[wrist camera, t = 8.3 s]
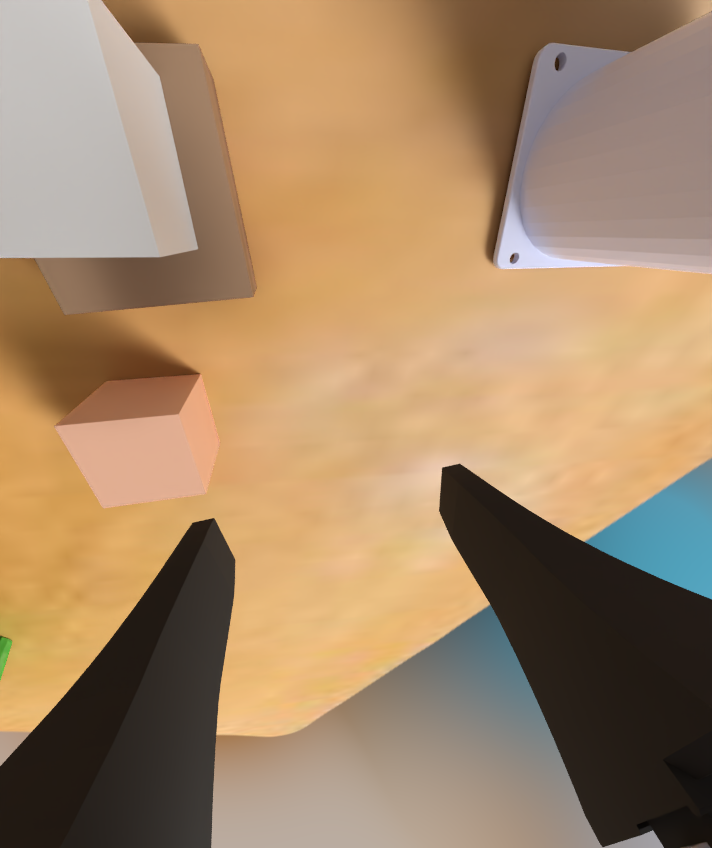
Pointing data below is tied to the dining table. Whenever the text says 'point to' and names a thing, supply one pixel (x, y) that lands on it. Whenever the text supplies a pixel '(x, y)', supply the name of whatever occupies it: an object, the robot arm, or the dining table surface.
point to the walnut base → (208, 203)
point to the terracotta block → (143, 439)
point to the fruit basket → (4, 652)
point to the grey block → (84, 139)
